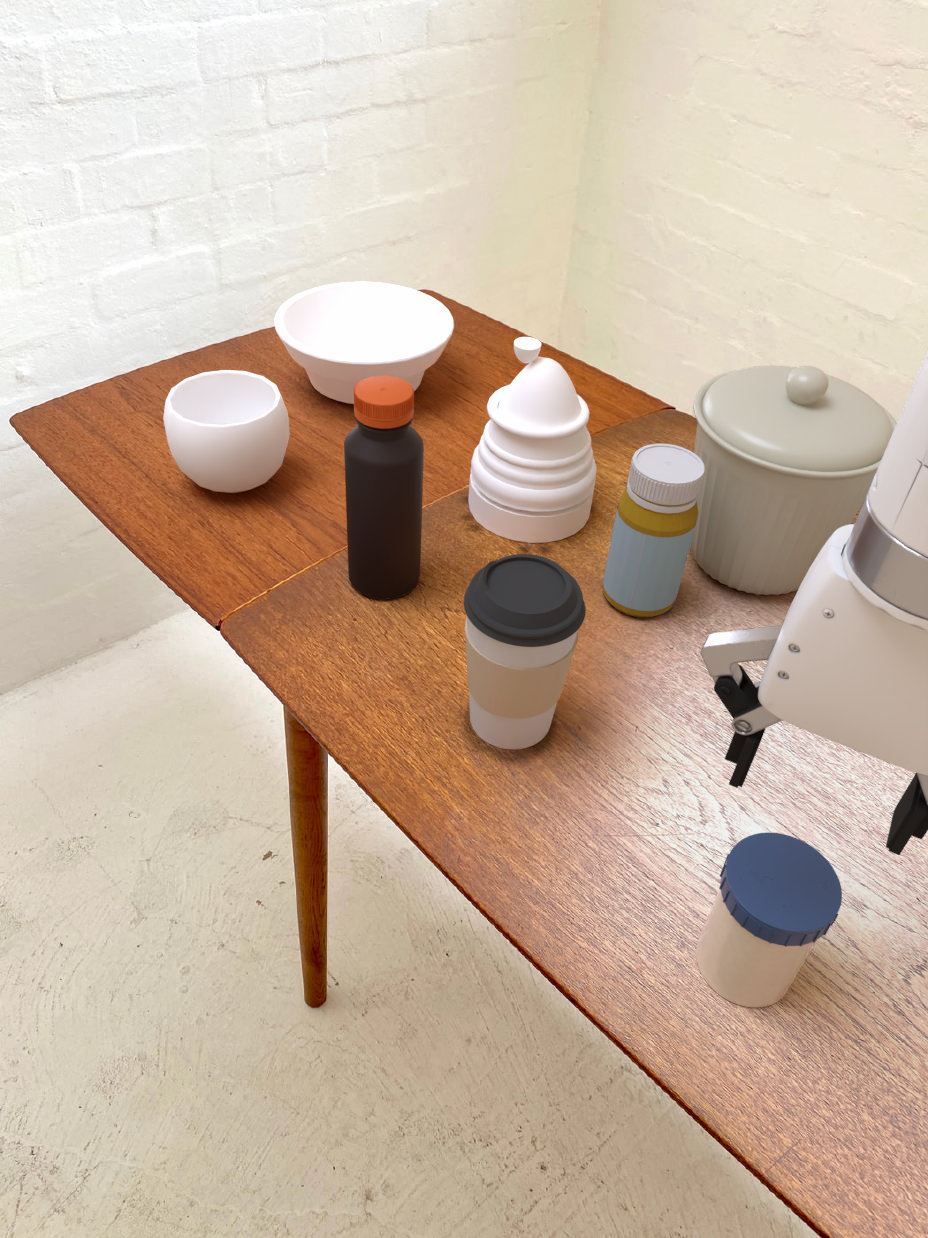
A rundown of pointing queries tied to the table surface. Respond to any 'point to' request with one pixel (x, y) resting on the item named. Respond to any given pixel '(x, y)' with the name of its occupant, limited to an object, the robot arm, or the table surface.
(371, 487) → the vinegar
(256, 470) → the cup
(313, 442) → the table surface
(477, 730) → the coffee cup
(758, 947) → the jar
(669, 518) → the bottle
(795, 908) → the lid
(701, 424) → the canister
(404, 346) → the bowl
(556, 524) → the honey pot
